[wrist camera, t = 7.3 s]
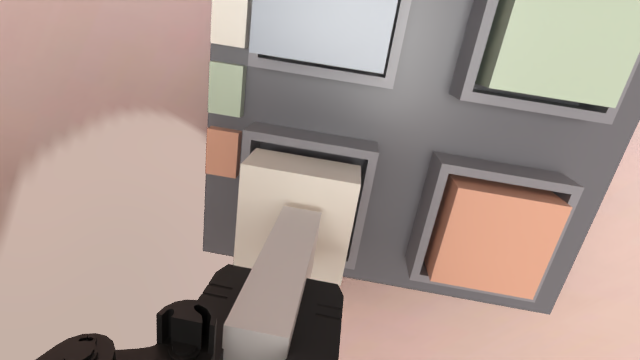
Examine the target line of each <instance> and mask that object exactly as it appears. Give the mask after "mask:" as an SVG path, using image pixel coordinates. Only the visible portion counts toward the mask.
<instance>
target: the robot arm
mask: <svg viewBox="0 0 640 360" xmlns="http://www.w3.org/2000/svg"><path fill="white" fill-rule="evenodd" d="M321 214H322V213H321V212H316V211H310V210H305V209H299V208H294V207H288V206H283V208H282V210H281V212H280V214H279V216H278V218H277V220H276V222H275V224H274V226H273V228H272V230H271V232H270V234H269V236H268V238H267V240H266V242H265V244H264V246H263V248H262V250H261V252H260V254H259V256H258V258H257V260H256V262H255V264H254V266H253V268H252V269H251V268H246V267H240V266H235V265H230V264H228V265H226V266H225V267H223V268H222V269H220V270H219V271H217V272H216V273H215V274H214V276H213V277H212V279H211V281H210V282H209V285H207V287H206V288H205V290H204V292H203V294H202V295H201V296H200V297H199V299H198V300H183V301H177V302H174V303H172V304H170V305H168V306H165V307H164V308H163V309H162V310H161V311H159V312H158V313H157V344H156V345H155V346H151V347H146V348H140V349H127V350H115V347H114V343H113V341H112V340H110V339H109V338H108V337H107V336H104V335H100V334H96V333H95V334H82V335H78V336H75V337H72V338H69V339H67V340H65V341H63V342H61V343H59V344H58V345H56V346H55V347H53V348H52V349H50V350H49V351H47V352H46V353H45V354H43V355H42V356H40V357H39V358H38V359H36V360H338V357H339V345H340V333H341V319H342V308H343V294H342V292H341V290H340V288H339V286H338V284H334V283H329V282H324V281H319V280H314V279H310V278H311V274H312V268H313V262H314V256H315V250H316V244H317V238H318V232H319V226H320V220H321Z"/></svg>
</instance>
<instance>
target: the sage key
mask: <svg viewBox="0 0 640 360" xmlns="http://www.w3.org/2000/svg"><path fill="white" fill-rule="evenodd" d="M639 52H640V0H499V1H498V5H497V8H496V12H495V15H494V19H493V22H492V26H491V29H490V32H489V36H488V39H487V43H486V46H485V50H484V53H483V57H482V60H481V64H480V67H479V71H478V74H477V77H476V81H475V84H478V85H481V86H484V87H487V88H492V89H498V90H504V91H511V92H517V93H523V94H529V95H536V96H542V97H548V98H555V99H561V100H567V101H573V102H580V103H586V104H592V105H598V106H605V107H611V108H616V106H617V103H618V101H619V99H620V96H621V94H622V92H623V89H624V87H625V85H626V83H627V80H628V78H629V76H630V73H631V71H632V69H633V66H634V64H635V62H636V59H637V57H638V55H639Z"/></svg>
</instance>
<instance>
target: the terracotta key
mask: <svg viewBox="0 0 640 360" xmlns="http://www.w3.org/2000/svg"><path fill="white" fill-rule="evenodd" d="M572 208H573V207H571V206H570V205H569V204H567V203H566V202H565V201H564V200H562V199H561V198H560V197H558V196H557V195H556V194H554V193H553V192H552V191H548V190H543V189H537V188H531V187H525V186H519V185H513V184H507V183H501V182H496V181H490V180H484V179H478V178H472V177H466V176H460V175H454V174H448V178H447V181H446V185H445V188H444V192H443V195H442V199H441V202H440V205H439V209H438V212H437V216H436V219H435V223H434V226H433V230H432V233H431V237H430V240H429V244H428V247H427V250H426V254H425V257H424V262H425V266H426V269H427V272H428V276H429V279H430V281H432V282H438V283H443V284H449V285H454V286H460V287H465V288H471V289H476V290H482V291H487V292H493V293H498V294H504V295H509V296H515V297H520V298H526V299H531V300H533V298H534V296H535V293H536V291H537V289H538V286H539V284H540V282H541V279H542V277H543V275H544V273H545V270H546V268H547V266H548V263H549V261H550V259H551V256H552V254H553V252H554V249H555V247H556V245H557V242H558V240H559V238H560V235H561V233H562V231H563V229H564V226H565V224H566V222H567V219H568V217H569V215H570V212H571V210H572Z"/></svg>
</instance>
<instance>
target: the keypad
mask: <svg viewBox="0 0 640 360" xmlns="http://www.w3.org/2000/svg"><path fill="white" fill-rule="evenodd" d="M252 1H253V0H212V11H211V37H210V43H211V54H210V64H209V90H208V128H207V143H206V170H205V173H206V186H205V210H204V211H205V212H204V236H203V251H207V252H212V253H217V254H222V255H229V256H233V257H234V246H235V233H236V219H237V205H238V192H239V178H240V165H241V163H242V162H243V161H244V160H245V159H246V158H247V157H248V156H249V155H250V154H251V153H252V152H253V151H254V150H255V149H256V148H260V149H266V150H271V151H277V152H283V153H289V154H295V155H301V156H307V157H312V158H318V159H324V160H330V161H336V162H342V163H348V164H353V165H359V166H361V188H360V193H359V197H358V202H357V207H356V212H355V217H354V222H353V227H352V232H351V237H350V242H349V247H348V252H347V257H346V262H345V267H344V272H343V277H348V278H353V279H359V280H364V281H370V282H375V283H381V284H386V285H391V286H397V287H402V288H408V289H413V290H419V291H424V292H430V293H435V294H441V295H446V296H451V297H457V298H462V299H468V300H473V301H479V302H484V303H490V304H495V305H501V306H506V307H511V308H517V309H522V310H528V311H533V312H539V313H544V314H550V313H551V311H552V309H553V307H554V305H555V302H556V300H557V298H558V296H559V294H560V291H561V289H562V287H563V285H564V283H565V281H566V278H567V276H568V274H569V272H570V270H571V268H572V265H573V263H574V261H575V259H576V257H577V255H578V252H579V250H580V248H581V246H582V244H583V242H584V239H585V237H586V235H587V233H588V231H589V229H590V226H591V224H592V222H593V220H594V218H595V215H596V213H597V211H598V209H599V207H600V205H601V202H602V200H603V198H604V196H605V194H606V192H607V189H608V187H609V185H610V183H611V181H612V179H613V176H614V174H615V172H616V170H617V168H618V166H619V163H620V161H621V159H622V157H623V155H624V152H625V150H626V148H627V146H628V144H629V142H630V139H631V137H632V135H633V133H634V131H635V129H636V126H637V124H638V122H639V120H640V52H639V55H638V57H637V59H636V62H635V64H634V66H633V69H632V71H631V73H630V76H629V78H628V80H627V83H626V85H625V87H624V89H623V92H622V94H621V96H620V99H619V101H618V103H617V106H616V108H611V107H605V106H598V105H592V104H586V103H580V102H573V101H567V100H561V99H555V98H548V97H542V96H536V95H529V94H523V93H517V92H511V91H504V90H498V89H492V88H487V87H484V86H481V85H478V84H475V81H476V77H477V74H478V71H479V67H480V64H481V60H482V57H483V53H484V50H485V46H486V43H487V39H488V36H489V32H490V29H491V26H492V22H493V19H494V15H495V12H496V8H497V5H498V1H499V0H398V3H397V8H396V13H395V18H394V23H393V28H392V33H391V38H390V43H389V48H388V53H387V58H386V63H385V68H384V73H383V74H381V73H375V72H368V71H362V70H356V69H350V68H343V67H337V66H331V65H325V64H318V63H312V62H306V61H300V60H293V59H287V58H281V57H275V56H268V55H262V54H256V53H250V52H249V42H250V28H251V15H252ZM448 174H454V175H460V176H466V177H472V178H478V179H484V180H490V181H496V182H501V183H507V184H513V185H519V186H525V187H531V188H537V189H543V190H548V191H552V192H553V193H554V194H556V195H557V196H558V197H560V198H561V199H562V200H564V201H565V202H566V203H567V204H569V205H570V206H571V207H573V208H572V210H571V212H570V215H569V217H568V219H567V222H566V224H565V226H564V229H563V231H562V233H561V235H560V238H559V240H558V242H557V245H556V247H555V249H554V252H553V254H552V256H551V259H550V261H549V263H548V266H547V268H546V270H545V273H544V275H543V277H542V279H541V282H540V284H539V286H538V289H537V291H536V293H535V296H534V298H533V300H531V299H526V298H520V297H515V296H509V295H504V294H498V293H493V292H487V291H482V290H476V289H471V288H465V287H460V286H454V285H449V284H443V283H438V282H432V281H430V279H429V276H428V272H427V269H426V266H425V262H424V257H425V254H426V250H427V247H428V244H429V240H430V237H431V233H432V230H433V226H434V223H435V219H436V216H437V212H438V209H439V205H440V202H441V199H442V195H443V192H444V188H445V185H446V181H447V178H448Z"/></svg>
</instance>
